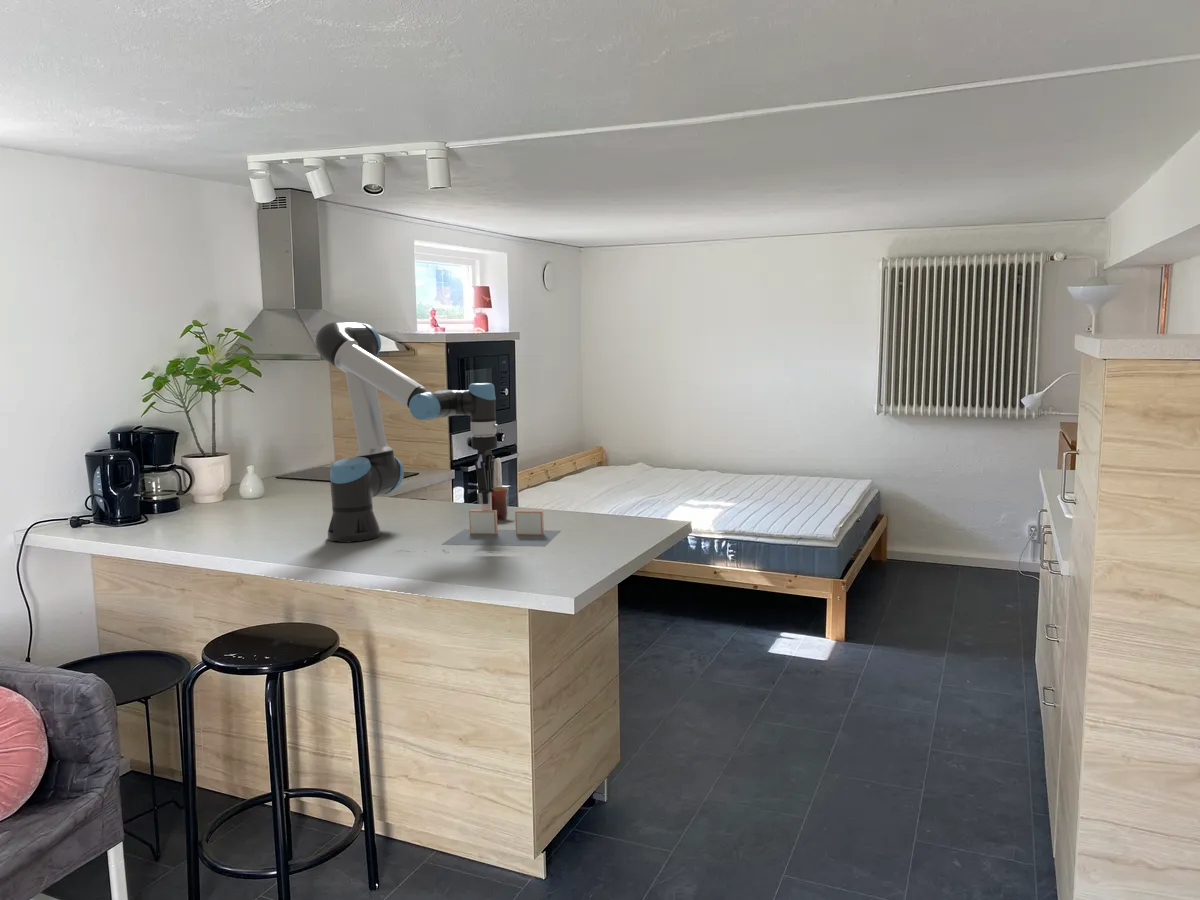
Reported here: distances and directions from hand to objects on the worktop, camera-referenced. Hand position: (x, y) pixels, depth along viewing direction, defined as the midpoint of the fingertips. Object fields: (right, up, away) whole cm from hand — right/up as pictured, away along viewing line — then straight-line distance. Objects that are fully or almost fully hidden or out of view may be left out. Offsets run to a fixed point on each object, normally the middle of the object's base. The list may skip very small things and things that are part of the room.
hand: (487, 514), depth 261 cm
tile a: (-1, -6, -3) cm, 7 cm away
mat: (+6, -7, -8) cm, 12 cm away
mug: (0, -4, +21) cm, 21 cm away
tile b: (+13, -6, -6) cm, 15 cm away
